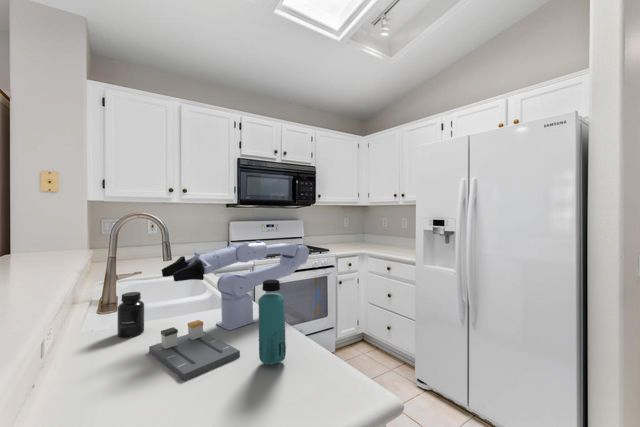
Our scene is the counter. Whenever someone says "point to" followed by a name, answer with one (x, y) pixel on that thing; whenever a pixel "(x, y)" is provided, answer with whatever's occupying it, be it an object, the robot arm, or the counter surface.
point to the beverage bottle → (271, 324)
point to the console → (194, 355)
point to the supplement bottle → (130, 315)
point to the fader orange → (195, 329)
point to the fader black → (169, 337)
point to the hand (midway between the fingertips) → (167, 275)
